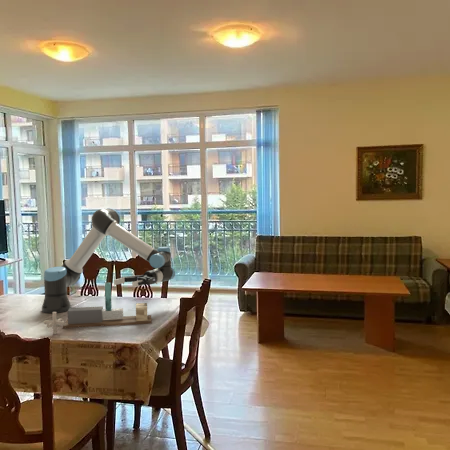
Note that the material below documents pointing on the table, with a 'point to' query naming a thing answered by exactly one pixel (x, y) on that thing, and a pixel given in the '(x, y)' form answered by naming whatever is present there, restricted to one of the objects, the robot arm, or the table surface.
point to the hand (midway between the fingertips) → (123, 283)
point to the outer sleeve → (85, 315)
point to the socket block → (141, 311)
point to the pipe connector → (54, 322)
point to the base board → (111, 322)
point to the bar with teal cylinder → (110, 306)
